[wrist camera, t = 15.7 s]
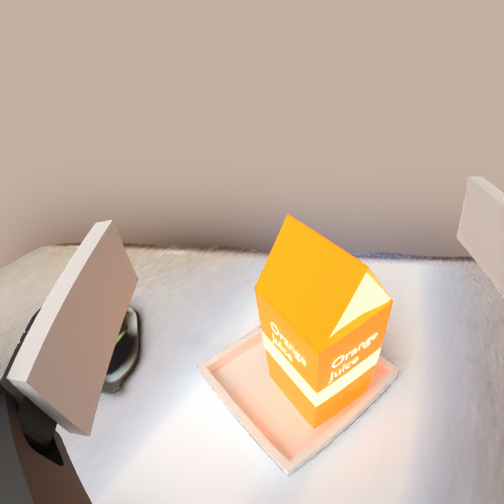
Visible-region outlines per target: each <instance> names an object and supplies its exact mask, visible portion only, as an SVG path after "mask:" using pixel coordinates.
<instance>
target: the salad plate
mask: <svg viewBox="0 0 504 504" xmlns="http://www.w3.org/2000/svg"><path fill="white" fill-rule="evenodd" d="M139 348H140V321H139V315H138V313H137V312H136V311H135V310H134V309H133V308H132V307H131V306H128V308H127V311H126V314H125V317H124V320H123V323H122V326H121V329H120V332H119V335H118V338H117V341H116V344H115V347H114V350H113V353H112V356H111V360H110V363H109V366H108V370H107V373H106V376H105V380H104V383H103V387H102V390H101V392H105V393H114V392H116V391H119V390H120V387H119V385H120V383H121V382H122V381H123V380H124V379H125V378H126V377H128V375H129V374H130V373H131V372H132V371H133V369H134V367H135V366H136V363H137V360H138V355H139Z"/></svg>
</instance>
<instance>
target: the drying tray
mask: <svg viewBox="0 0 504 504" xmlns="http://www.w3.org/2000/svg"><path fill="white" fill-rule="evenodd" d="M197 367H198V369H199V371H200V373H201V375H202V377H203V378H204V379H205V381H206V382H207V383H208V384H209V386H210V387H211V388H212V390H213V391H214V392H215V393H216V395H217V396H218V397H219V398H220V400H221V401H222V402H223V403H224V405H225V406H226V407H227V408H228V410H229V411H230V412H231V413H232V414H233V416H234V417H235V418H236V419H237V420H238V422H239V423H240V424H241V425H242V426H243V428H244V429H245V430H246V431H247V432H248V433H249V434H250V436H251V437H252V438H253V439H254V440H255V441H256V442H257V444H258V445H259V446H260V447H261V448H262V449H263V450H264V451H265V452H266V454H267V455H268V456H269V457H270V458H271V459H272V460H273V461H274V462H275V463H276V464H277V465H278V466H279V467H280V469H281V470H282V471H283V472H284V473H285V474H286V475H287V476H289V475H291V474H292V473H293V472H295V471H296V470H297V469H299V468H300V467H301V466H303V465H304V464H305V463H306V462H308V461H309V460H310V459H312V458H313V457H314V456H315V455H316V454H318V453H319V452H320V451H321V450H323V449H324V448H325V447H326V446H327V445H329V444H330V443H331V442H332V441H333V440H334V439H335V438H337V437H338V436H339V435H340V434H341V433H342V432H343V431H344V430H346V429H347V428H348V427H349V426H350V425H351V424H352V423H353V422H354V421H355V420H356V419H357V418H359V417H360V416H361V415H362V414H363V413H364V412H365V411H366V410H367V409H368V408H369V407H370V406H371V405H372V404H373V403H374V402H375V401H376V400H377V399H378V398H379V397H380V396H381V395H382V394H383V393H384V391H385V390H386V389H387V388H388V387H389V386H390V385H391V384H392V383H393V382H394V381H395V380H396V377H397V375H398V373H399V370H400V368H398V367H397V366H395V365H394V364H392V363H391V362H390V361H388V360H387V359H385V358H384V357H383V356H381V355H380V354H379V357H378V360H377V363H376V365H375V368H374V371H373V374H372V377H371V380H370V383H369V386H368V389H367V391H366V392H365V393H364V394H363V395H361V396H360V397H359V398H357V399H356V400H355V401H353V402H352V403H351V404H349V405H348V406H347V407H345V408H344V409H343V410H341V411H340V412H338V413H337V414H336V415H334V416H333V417H331V418H330V419H329V420H327V421H326V422H324V423H323V424H321V425H320V426H318V427H317V428H315V429H313V428H312V427H311V426H310V424H309V423H308V422H307V421H306V420H305V418H304V417H303V416H302V415H301V414H300V412H299V411H298V410H297V409H296V408H295V406H294V405H293V404H292V403H291V402H290V400H289V399H288V398H287V397H286V395H285V394H284V393H283V392H282V390H281V389H280V388H279V387H278V385H277V384H276V383H275V382H274V380H273V379H272V378H271V377H270V373H269V367H268V362H267V356H266V350H265V347H264V342H263V336H262V328H261V326H260V327H259V328H257V329H256V330H254V331H253V332H251V333H250V334H248V335H247V336H245V337H243V338H242V339H240V340H239V341H237V342H236V343H234V344H232V345H231V346H229V347H228V348H226V349H224V350H223V351H221V352H219V353H218V354H216V355H215V356H213V357H211V358H210V359H208V360H206V361H205V362H203V363H201V364H200V365H198V366H197Z"/></svg>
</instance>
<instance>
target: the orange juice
mask: <svg viewBox="0 0 504 504" xmlns="http://www.w3.org/2000/svg"><path fill="white" fill-rule="evenodd" d="M254 289H255V294H256V299H257V305H258V311H259V316H260V322H261V328H262V336H263V342H264V347H265V350H266V356H267V362H268V367H269V373H270V377H271V378H272V379H273V380H274V382H275V383H276V384H277V385H278V387H279V388H280V389H281V390H282V392H283V393H284V394H285V395H286V397H287V398H288V399H289V400H290V402H291V403H292V404H293V405H294V406H295V408H296V409H297V410H298V411H299V412H300V414H301V415H302V416H303V417H304V418H305V420H306V421H307V422H308V423H309V424H310V426H311V427H312V428H313V429H315V428H317V427H318V426H320V425H321V424H323V423H324V422H326V421H327V420H329V419H330V418H331V417H333V416H334V415H336V414H337V413H338V412H340V411H341V410H343V409H344V408H345V407H347V406H348V405H349V404H351V403H352V402H353V401H355V400H356V399H357V398H359V397H360V396H361V395H363V394H364V393H365V392H366V391H367V389H368V386H369V383H370V380H371V377H372V374H373V371H374V368H375V365H376V363H377V360H378V357H379V354H380V350H381V345H382V341H383V338H384V334H385V331H386V327H387V323H388V319H389V315H390V311H391V307H392V303H393V301H392V299H391V298H390V296H389V295H388V294H387V292H386V291H385V289H384V288H383V287H382V285H381V284H380V282H379V281H378V280H377V278H376V277H375V276H374V274H373V273H372V272H371V270H370V269H369V267H368V266H366V265H365V264H363V263H362V262H360V261H359V260H357V259H356V258H355V257H353V256H352V255H350V254H349V253H347V252H345V251H344V250H342V249H341V248H339V247H338V246H336V245H335V244H333V243H332V242H330V241H329V240H327V239H326V238H324V237H322V236H321V235H319V234H318V233H316V232H315V231H313V230H312V229H310V228H308V227H307V226H306V225H304V224H302V223H300V222H299V221H298V220H296V219H295V218H293V217H291V216H290V215H288V214H287V217H286V220H285V222H284V224H283V226H282V229H281V231H280V233H279V235H278V237H277V239H276V242H275V244H274V246H273V248H272V251H271V253H270V255H269V257H268V260H267V262H266V264H265V266H264V268H263V271H262V273H261V275H260V277H259V279H258V282H257V284H256V285H254Z"/></svg>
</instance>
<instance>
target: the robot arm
mask: <svg viewBox="0 0 504 504" xmlns="http://www.w3.org/2000/svg"><path fill="white" fill-rule="evenodd" d="M456 238H457V239H458V240H459V241H460V242H461V244H462V245H463V246H464V247H465V248H466V249H467V251H468V252H469V253H470V254H471V256H472V257H473V258H474V259H475V261H476V262H477V263H478V264H479V266H480V267H481V268H482V270H483V271H484V272H485V274H486V275H487V276H488V277H489V279H490V280H491V281H492V283H493V284H494V286H495V287H496V288H497V290H498V291H499V293H500V294H501V295H502V297H503V298H504V193H503V192H501V191H500V190H499V189H497V188H496V187H495V186H494V185H492V184H491V183H490V182H488V181H487V180H486V179H485V178H483V177H481V176H479V177H468V181H467V187H466V193H465V199H464V204H463V209H462V214H461V219H460V223H459V228H458V232H457V237H456ZM137 281H138V278H137V275H136V273H135V271H134V269H133V267H132V264H131V262H130V260H129V257H128V255H127V253H126V250H125V248H124V246H123V243H122V241H121V239H120V236H119V234H118V231H117V229H116V226H115V224H114V222H113V220H108V221H104V222H99V223H95V225H94V226H93V228H92V229H91V230H90V232H89V233H88V235H87V236H86V237H85V239H84V240H83V242H82V243H81V245H80V246H79V248H78V249H77V251H76V252H75V254H74V255H73V257H72V258H71V260H70V261H69V263H68V264H67V266H66V267H65V269H64V271H63V272H62V274H61V275H60V277H59V279H58V280H57V282H56V284H55V285H54V287H53V289H52V290H51V292H50V294H49V295H48V297H47V299H46V300H45V302H44V304H43V306H42V307H41V308H40V309H39V310H38V311H37V312H36V313H35V315H34V316H33V317H32V318H31V320H30V322H29V324H28V326H27V328H26V329H25V331H26V332H25V333H23V335H22V337H21V339H20V343H18V345H17V347H16V349H15V351H14V353H13V355H12V357H11V360H10V362H9V364H8V366H7V368H6V370H5V373H4V375H3V377H2V379H1V381H0V504H92V503H91V501H90V499H89V497H88V495H87V493H86V491H85V489H84V487H83V485H82V483H81V481H80V479H79V477H78V475H77V473H76V471H75V469H74V467H73V464H72V462H71V460H70V458H69V455H68V453H67V451H66V448H65V446H64V443H63V441H62V438H61V437H60V435H59V434H58V432H56V431H55V429H56V425H57V423H58V424H59V425H60V426H61V427H63V428H64V429H65V430H67V431H68V432H70V433H75V434H80V435H85V436H90V433H91V429H92V425H93V421H94V417H95V413H96V409H97V405H98V401H99V398H100V394H101V390H102V387H103V383H104V380H105V376H106V373H107V370H108V366H109V363H110V360H111V356H112V353H113V350H114V347H115V344H116V341H117V338H118V335H119V332H120V329H121V326H122V323H123V320H124V317H125V314H126V311H127V308H128V306H129V303H130V300H131V297H132V295H133V292H134V289H135V287H136V284H137Z"/></svg>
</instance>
